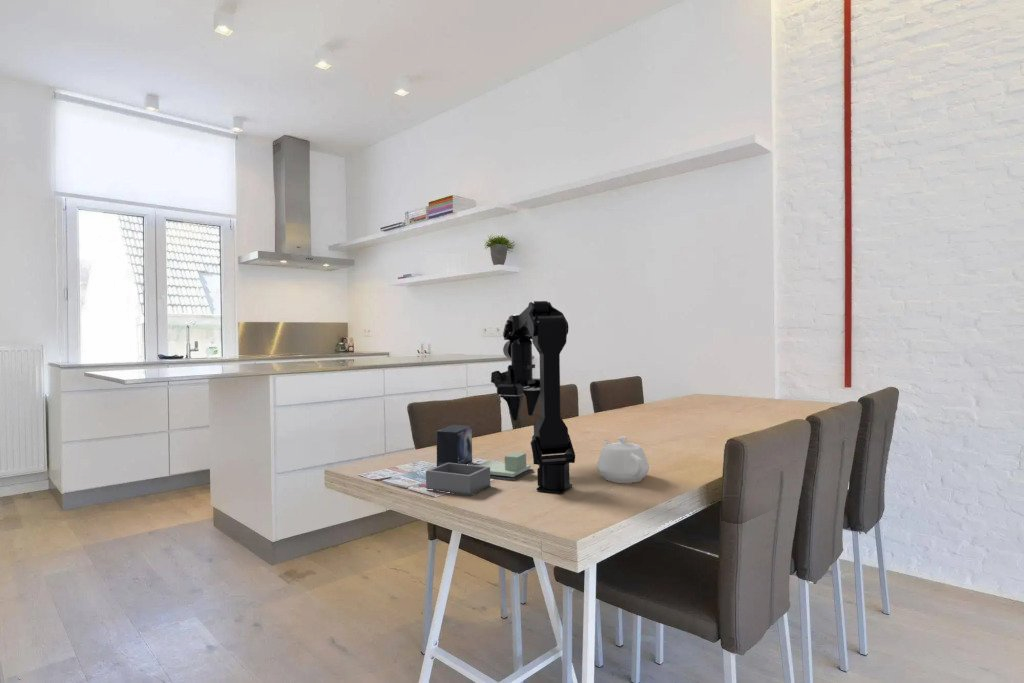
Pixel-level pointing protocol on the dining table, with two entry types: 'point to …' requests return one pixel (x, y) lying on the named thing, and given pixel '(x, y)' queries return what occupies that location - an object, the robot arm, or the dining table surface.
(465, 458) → the small box
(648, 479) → the dining table surface
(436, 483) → the tub
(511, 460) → the lid
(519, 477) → the mat
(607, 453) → the teapot
